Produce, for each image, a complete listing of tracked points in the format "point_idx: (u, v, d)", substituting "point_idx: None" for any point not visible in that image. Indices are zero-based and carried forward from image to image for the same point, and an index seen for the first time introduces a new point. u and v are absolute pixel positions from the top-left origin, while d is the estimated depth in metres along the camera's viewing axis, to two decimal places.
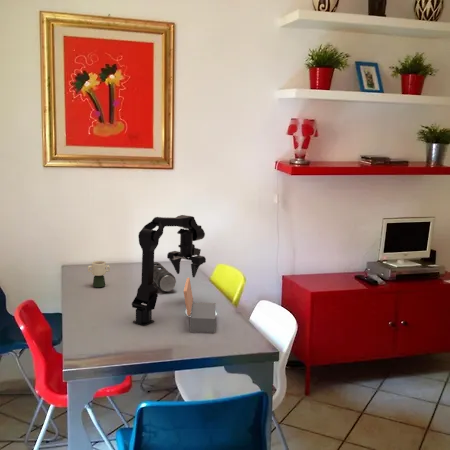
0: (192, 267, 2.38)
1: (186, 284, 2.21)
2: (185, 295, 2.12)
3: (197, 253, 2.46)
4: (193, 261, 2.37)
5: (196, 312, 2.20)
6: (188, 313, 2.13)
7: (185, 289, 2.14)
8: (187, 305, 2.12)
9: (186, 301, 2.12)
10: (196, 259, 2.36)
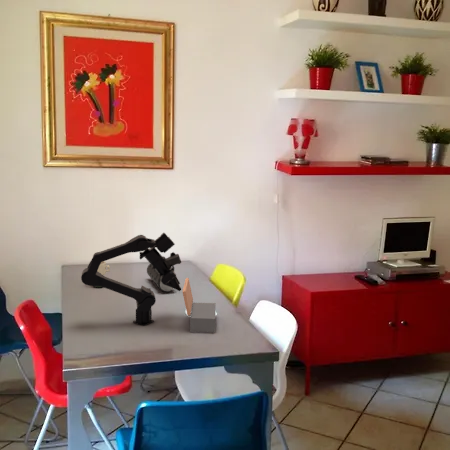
0: None
1: (185, 284, 2.21)
2: (184, 295, 2.12)
3: (175, 263, 2.19)
4: None
5: (196, 312, 2.20)
6: (188, 313, 2.13)
7: (184, 289, 2.14)
8: (187, 305, 2.12)
9: (185, 301, 2.12)
10: (161, 280, 2.14)
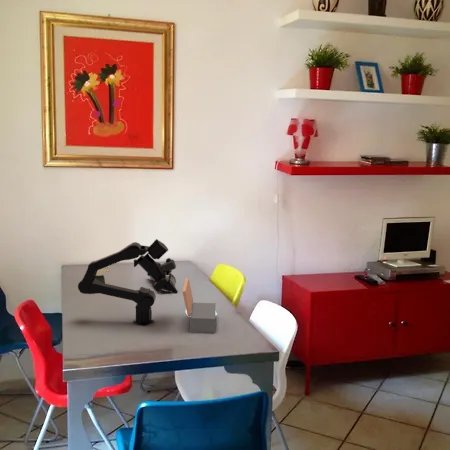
0: None
1: (185, 284, 2.21)
2: (184, 295, 2.12)
3: (168, 269, 2.18)
4: None
5: (196, 312, 2.20)
6: (188, 313, 2.13)
7: (184, 289, 2.14)
8: (187, 305, 2.12)
9: (185, 301, 2.12)
10: (154, 286, 2.13)
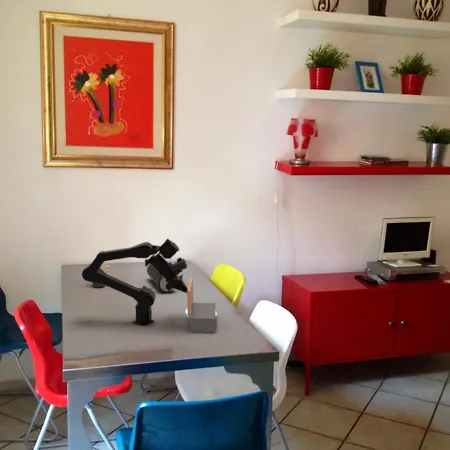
0: None
1: (190, 284, 2.21)
2: (188, 295, 2.12)
3: (180, 268, 2.17)
4: None
5: (196, 312, 2.20)
6: (188, 313, 2.13)
7: (189, 289, 2.14)
8: (189, 305, 2.12)
9: (188, 301, 2.12)
10: None
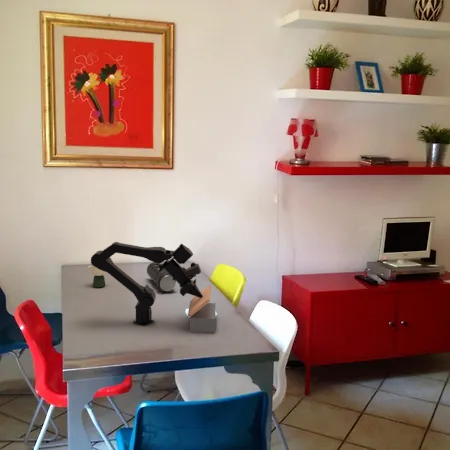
0: None
1: (209, 292, 2.22)
2: (205, 302, 2.12)
3: (194, 273, 2.18)
4: None
5: (196, 312, 2.20)
6: (191, 314, 2.13)
7: (209, 298, 2.14)
8: (197, 309, 2.13)
9: (200, 306, 2.12)
10: (180, 291, 2.13)
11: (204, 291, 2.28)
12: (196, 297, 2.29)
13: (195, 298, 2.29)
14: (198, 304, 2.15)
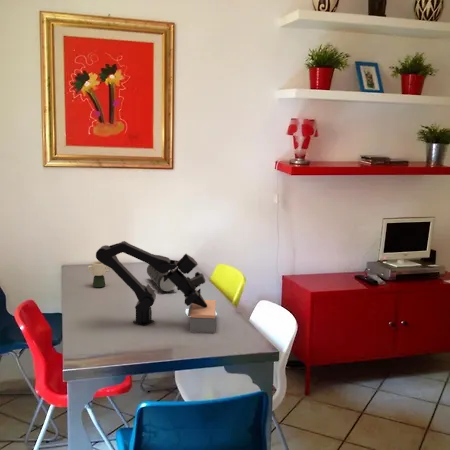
0: None
1: None
2: (210, 316, 2.13)
3: (198, 283, 2.19)
4: None
5: None
6: (191, 315, 2.13)
7: None
8: (200, 316, 2.13)
9: (204, 316, 2.13)
10: None
11: (209, 303, 2.29)
12: None
13: None
14: (202, 312, 2.16)
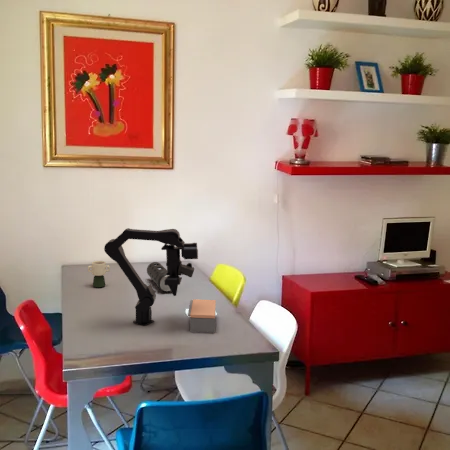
0: None
1: None
2: (210, 316, 2.13)
3: (186, 273, 2.18)
4: None
5: None
6: (191, 315, 2.13)
7: None
8: (200, 316, 2.13)
9: (204, 316, 2.13)
10: (165, 279, 2.12)
11: (209, 303, 2.29)
12: (199, 302, 2.29)
13: (197, 302, 2.29)
14: (202, 312, 2.16)
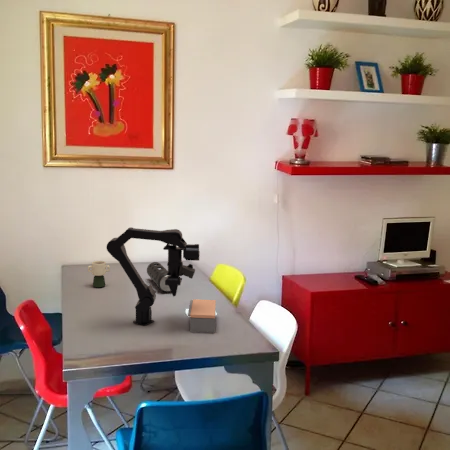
0: None
1: None
2: (210, 316, 2.13)
3: (187, 274, 2.18)
4: None
5: None
6: (191, 315, 2.13)
7: None
8: (200, 316, 2.13)
9: (204, 316, 2.13)
10: (166, 279, 2.12)
11: (209, 303, 2.29)
12: (199, 302, 2.29)
13: (197, 302, 2.29)
14: (202, 312, 2.16)
